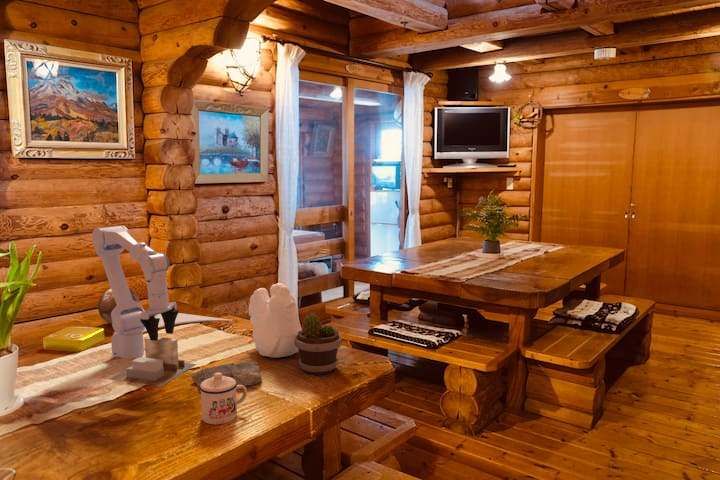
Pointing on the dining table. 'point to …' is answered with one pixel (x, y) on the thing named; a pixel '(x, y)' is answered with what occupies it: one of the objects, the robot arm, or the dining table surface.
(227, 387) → the teacup with lid
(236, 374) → the clay tablet
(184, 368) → the walnut rack
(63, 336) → the element tile
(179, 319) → the corner molding
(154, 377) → the block
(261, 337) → the white sculpture
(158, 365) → the upper offcut
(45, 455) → the dining table surface
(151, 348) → the brown rectangular block
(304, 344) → the flowerpot
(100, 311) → the wooden sphere
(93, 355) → the dining table surface
